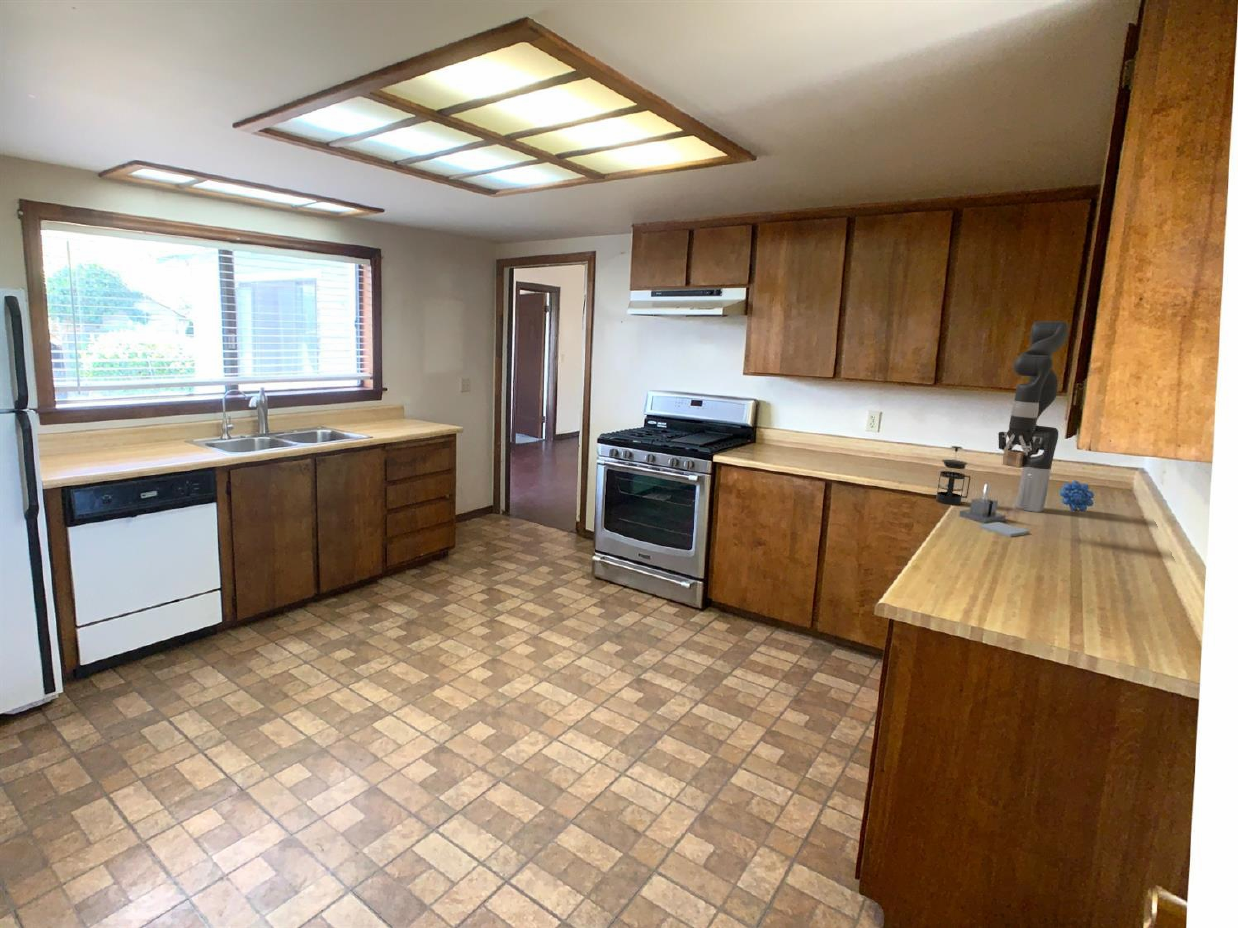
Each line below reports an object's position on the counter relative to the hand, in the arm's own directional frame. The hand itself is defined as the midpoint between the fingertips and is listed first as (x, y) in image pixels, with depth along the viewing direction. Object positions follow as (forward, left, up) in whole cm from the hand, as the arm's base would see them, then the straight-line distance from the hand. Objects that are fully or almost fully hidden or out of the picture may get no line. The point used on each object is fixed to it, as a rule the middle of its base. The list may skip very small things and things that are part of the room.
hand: (1015, 464), depth 217 cm
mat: (0, 0, -23) cm, 23 cm away
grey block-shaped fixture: (-8, -13, -23) cm, 28 cm away
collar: (0, 0, 0) cm, 0 cm away
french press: (-18, -33, -24) cm, 44 cm away
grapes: (-59, -7, -24) cm, 64 cm away
